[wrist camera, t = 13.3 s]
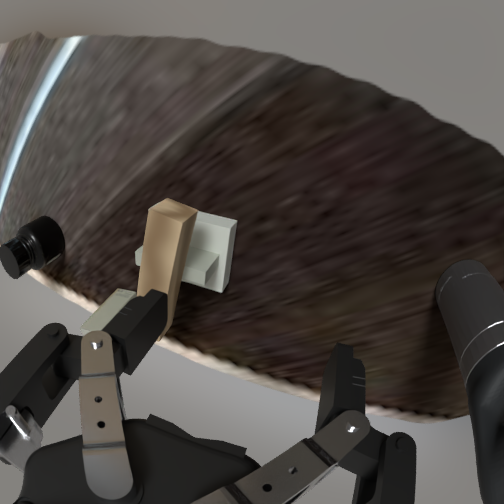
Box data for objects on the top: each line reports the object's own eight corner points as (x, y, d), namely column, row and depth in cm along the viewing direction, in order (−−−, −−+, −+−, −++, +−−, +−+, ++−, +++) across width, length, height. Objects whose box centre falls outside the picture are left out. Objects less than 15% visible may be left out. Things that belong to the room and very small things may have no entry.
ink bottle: (37, 244, 57) (-2, 269, 46) (36, 208, 53) (-8, 231, 42) (67, 263, 56) (26, 293, 46) (67, 225, 52) (21, 253, 42)
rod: (198, 210, 35) (182, 222, 31) (171, 324, 44) (159, 341, 40) (167, 198, 35) (149, 209, 32) (147, 312, 44) (133, 328, 40)
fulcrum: (237, 220, 43) (216, 244, 36) (228, 282, 48) (209, 313, 41) (159, 202, 45) (128, 221, 38) (157, 261, 50) (131, 286, 43)
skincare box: (118, 287, 55) (78, 325, 44) (137, 291, 54) (98, 332, 43) (124, 314, 57) (89, 354, 47) (143, 319, 57) (108, 361, 46)
